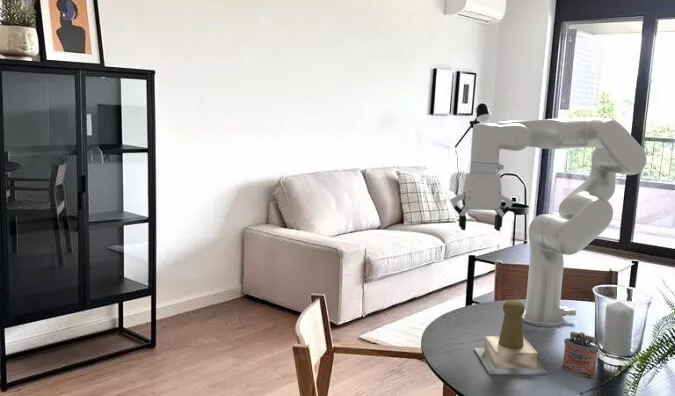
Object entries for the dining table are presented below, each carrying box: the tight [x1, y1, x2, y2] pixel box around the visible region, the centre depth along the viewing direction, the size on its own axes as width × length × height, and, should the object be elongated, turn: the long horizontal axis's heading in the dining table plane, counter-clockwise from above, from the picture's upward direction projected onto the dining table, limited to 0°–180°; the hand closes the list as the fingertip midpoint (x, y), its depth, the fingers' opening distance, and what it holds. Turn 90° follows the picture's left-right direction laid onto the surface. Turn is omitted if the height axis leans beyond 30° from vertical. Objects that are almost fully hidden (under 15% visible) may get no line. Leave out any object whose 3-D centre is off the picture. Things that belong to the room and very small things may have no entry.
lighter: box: [561, 331, 599, 381], centre depth 151 cm, size 8×3×10 cm, turn 45°
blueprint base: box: [473, 335, 548, 376], centre depth 157 cm, size 14×14×5 cm
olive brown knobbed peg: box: [498, 299, 526, 349], centre depth 155 cm, size 6×6×11 cm
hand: (479, 229), depth 176 cm, fingers open, 9 cm apart
